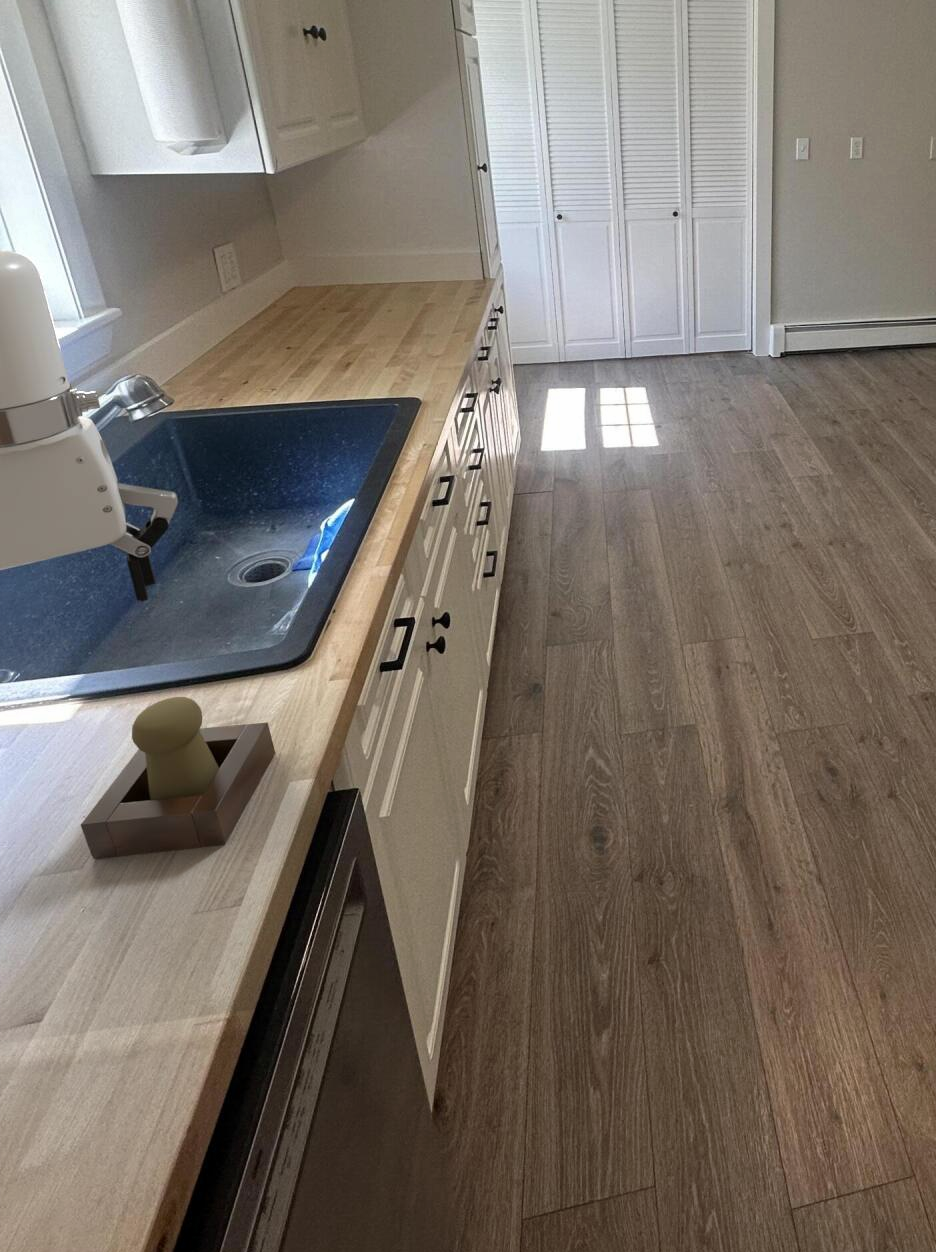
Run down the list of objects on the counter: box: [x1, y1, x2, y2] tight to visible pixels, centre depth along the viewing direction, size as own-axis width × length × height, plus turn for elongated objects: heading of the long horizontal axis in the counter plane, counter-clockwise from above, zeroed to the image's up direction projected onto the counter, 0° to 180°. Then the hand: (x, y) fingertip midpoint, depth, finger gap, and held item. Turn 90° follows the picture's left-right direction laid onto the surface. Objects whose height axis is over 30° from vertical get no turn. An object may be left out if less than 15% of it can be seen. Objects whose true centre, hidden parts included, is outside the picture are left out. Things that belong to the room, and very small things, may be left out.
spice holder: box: [80, 722, 276, 860], centre depth 74 cm, size 11×11×4 cm
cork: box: [131, 696, 219, 801], centre depth 73 cm, size 6×6×11 cm
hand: (69, 613), depth 64 cm, fingers open, 9 cm apart
